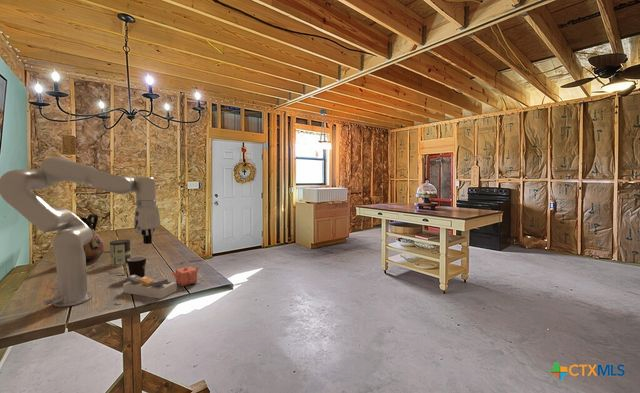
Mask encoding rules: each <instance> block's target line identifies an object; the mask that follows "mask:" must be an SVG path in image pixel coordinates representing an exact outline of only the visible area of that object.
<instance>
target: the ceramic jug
mask: <svg viewBox="0 0 640 393" xmlns="http://www.w3.org/2000/svg"><path fill="white" fill-rule="evenodd" d="M80 219H81V220H82V221H83V222H84V223H85V224H86V225H87V226H88V227H89V228H90V229H91V230H92V233H93V237H92V239H91V241H90V242H89V243H87V244H85V245H84V246H83V249H84V252H85V257H86V265H88V264H93V263H95V262H97V261H99V259H100V257H101V256H102V255H103V253H104V251H105V244H104V242H103V239H102V238H101V236H100V235H99V234H98V233H97V232H96V228H97V225H98V221H99V216H98V215H97V214H96V213H92V214H89V215H88V216H87V218H86V217H80ZM92 219H93V220H92Z"/></svg>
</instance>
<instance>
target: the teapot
mask: <svg viewBox="0 0 640 393" xmlns="http://www.w3.org/2000/svg"><path fill="white" fill-rule="evenodd" d="M199 268H201V265H199V266H197V267H196V268H194V267H192V266H184V267H182V268H181V267H180V268H177V269H175V271H171V272H170V274H172V275H173V276H174V278H175V282H176V284H178V285H180V286H182V287H186V286H189V285H192V284H196V283H198V270H199Z"/></svg>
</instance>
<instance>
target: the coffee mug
mask: <svg viewBox="0 0 640 393" xmlns="http://www.w3.org/2000/svg"><path fill="white" fill-rule="evenodd" d="M127 262H128V264H127V268H128V272H129V276H132V275H134V274H135V275H137V276H140V277H145V276H146V275H145V274H146V263H147V257H146V256H133V257H131V258H129V259H127Z"/></svg>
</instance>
